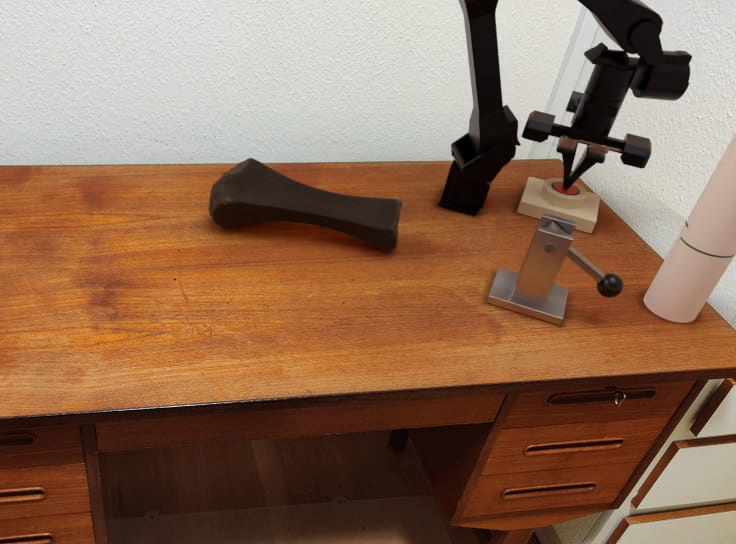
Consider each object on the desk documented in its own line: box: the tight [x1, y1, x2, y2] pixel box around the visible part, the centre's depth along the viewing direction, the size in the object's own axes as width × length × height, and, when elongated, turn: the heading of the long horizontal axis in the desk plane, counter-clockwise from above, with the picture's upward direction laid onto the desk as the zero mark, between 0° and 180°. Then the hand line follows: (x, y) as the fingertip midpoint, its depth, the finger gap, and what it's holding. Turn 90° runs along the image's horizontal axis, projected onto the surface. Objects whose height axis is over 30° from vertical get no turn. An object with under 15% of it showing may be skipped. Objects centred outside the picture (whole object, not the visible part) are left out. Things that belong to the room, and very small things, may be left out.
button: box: [552, 182, 578, 196], centre depth 119 cm, size 4×4×2 cm
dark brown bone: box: [208, 157, 403, 251], centre depth 107 cm, size 11×10×28 cm
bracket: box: [486, 213, 577, 326], centre depth 97 cm, size 10×8×12 cm
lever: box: [545, 221, 625, 299], centre depth 95 cm, size 13×3×3 cm, turn 66°
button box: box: [516, 176, 601, 234], centre depth 120 cm, size 12×10×4 cm
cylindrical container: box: [643, 132, 736, 324], centre depth 95 cm, size 7×7×25 cm
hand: (565, 187), depth 119 cm, fingers closed, pressing on button
